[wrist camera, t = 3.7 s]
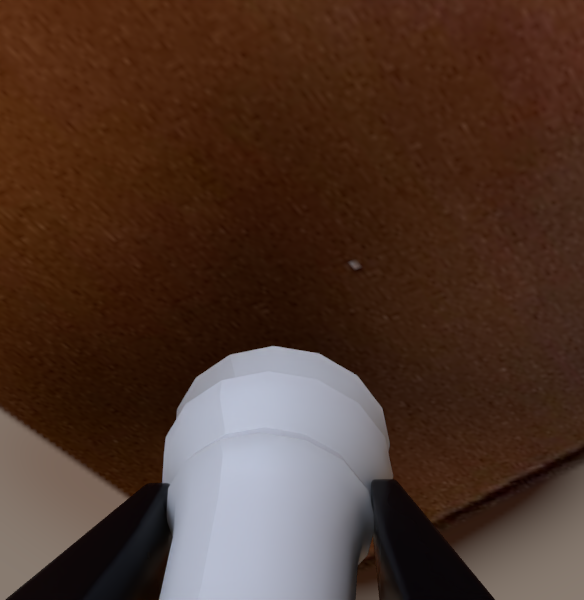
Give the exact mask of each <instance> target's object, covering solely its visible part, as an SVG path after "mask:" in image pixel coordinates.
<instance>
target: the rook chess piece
mask: <svg viewBox="0 0 584 600" xmlns="http://www.w3.org/2000/svg"><path fill="white" fill-rule="evenodd" d="M389 447H390V442H389V437H388V433H387V428H386V423H385V418H384V414H383V409H382V407H381V406H380V405H379V403H378V402H377V401H376V399H375V398H374V397H373V395H372V394H371V393H370V392H369V390H368V389H367V388H366V386H365V385H364V384H363V382H362V381H361V380H360V378H359V377H358V376H357V375H355V374H354V373H352V372H350V371H348V370H347V369H345V368H343V367H342V366H340V365H338V364H336V363H335V362H333V361H331V360H329V359H328V358H326V357H324V356H323V355H321V354H319V353H314V352H308V351H301V350H295V349H289V348H283V347H277V346H271V347H266V348H261V349H256V350H251V351H246V352H241V353H236V354H231V355H229V356H227V357H226V358H224V359H223V360H221V361H220V362H218V363H217V364H215V365H214V366H212V367H211V368H209V369H208V370H206V371H205V372H203V373H202V374H200V375H199V376H197V377H196V378H195V380H194V382H193V383H192V385H191V387H190V388H189V390H188V392H187V393H186V395H185V397H184V398H183V400H182V402H181V403H180V405H179V407H178V408H177V416H176V421H175V422H174V424H173V426H172V427H171V429H170V431H169V432H168V434H167V436H166V439H165V449H164V462H163V478H162V483H169V484H170V486H169V488H168V498H167V522H168V525H169V528H170V531H171V533H172V536H173V539H172V544H171V548H170V553H169V557H168V562H167V566H166V571H165V575H164V580H163V584H162V589H161V593H160V598H159V600H355V598H356V582H357V568H358V565H359V563H360V562H361V561H362V560H363V559H364V558H365V557H366V556H367V555H368V551H369V547H370V544H371V540H372V536H373V533H374V515H373V509H372V505H371V482H372V480H374V479H393V473H392V468H391V463H390V459H389V454H388V451H389Z"/></svg>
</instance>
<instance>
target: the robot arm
mask: <svg viewBox="0 0 584 600" xmlns="http://www.w3.org/2000/svg"><path fill="white" fill-rule="evenodd" d="M169 486H170V484H169V483H149V484H146V485H145V486H143V487H142V488H141V489H140V490H138V491H137V492H136V493H135V494H133V495H132V496H131V497H130V498H129V499H127V500H126V501H125V502H124V503H123V504H121V505H120V506H119V507H118V508H116V509H115V510H114V511H113V512H112V513H110V514H109V515H108V516H107V517H106V518H105V519H103V520H102V521H101V522H99V523H98V524H97V525H96V526H95V527H93V528H92V529H91V530H90V531H89V532H87V533H86V534H85V535H84V536H82V537H81V538H80V539H79V540H78V541H76V542H75V543H74V544H73V545H71V546H70V547H69V548H68V549H67V550H65V551H64V552H63V553H62V554H60V555H59V556H58V557H57V558H56V559H54V560H53V561H52V562H51V563H49V564H48V565H47V566H46V567H45V568H43V569H42V570H41V571H40V572H39V573H37V574H36V575H35V576H34V577H32V579H30V580H29V581H28V582H26V583H25V584H24V585H23V586H22V587H20V588H19V589H18V590H17V591H15V592H14V593H13V594H12V595H10V596H9V597H8V598H7V599H6V600H159V598H160V593H161V589H162V584H163V580H164V575H165V571H166V566H167V562H168V557H169V553H170V548H171V544H172V539H173V536H172V533H171V531H170V528H169V525H168V522H167V498H168V488H169ZM371 505H372V509H373V515H374V533H373V542H374V551H375V561H376V571H377V580H378V590H379V600H495V599H494V598H493V597H492V595H491V594H490V593H489V592H488V591H487V589H486V588H485V587H484V586H483V585H482V583H481V582H480V581H479V580H478V579H477V577H476V576H475V575H474V574H473V572H472V571H471V570H470V569H469V568H468V567H467V565H466V564H465V563H464V562H463V560H462V559H461V558H460V557H459V555H458V554H457V553H456V552H455V551H454V549H453V548H452V547H451V546H450V545H449V544H448V542H447V541H446V540H445V539H444V537H443V536H442V535H441V534H440V532H439V531H438V530H437V529H436V528H435V526H434V525H433V524H432V523H431V522H430V520H429V519H428V518H427V517H426V515H425V514H424V513H423V512H422V511H421V509H420V508H419V507H418V506H417V505H416V503H415V502H414V501H413V500H412V499H411V497H410V496H409V495H408V494H407V492H406V491H405V490H404V489H403V488H402V486H401V485H400V484H399V483H398V482H397V481H396V480H394V479H374V480H372V482H371Z"/></svg>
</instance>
